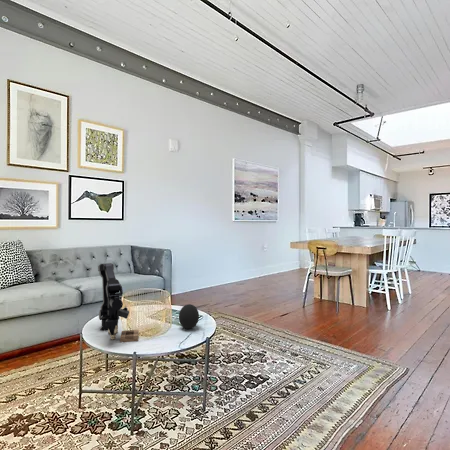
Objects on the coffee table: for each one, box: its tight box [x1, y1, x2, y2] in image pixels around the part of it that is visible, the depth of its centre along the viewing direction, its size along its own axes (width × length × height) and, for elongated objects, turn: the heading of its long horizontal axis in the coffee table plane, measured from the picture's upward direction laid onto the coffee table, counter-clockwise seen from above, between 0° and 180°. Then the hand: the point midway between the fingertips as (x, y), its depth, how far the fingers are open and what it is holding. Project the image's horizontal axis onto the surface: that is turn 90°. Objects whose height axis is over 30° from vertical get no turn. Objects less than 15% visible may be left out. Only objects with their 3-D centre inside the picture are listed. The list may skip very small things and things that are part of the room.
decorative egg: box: [178, 303, 200, 330], centre depth 200 cm, size 12×12×15 cm
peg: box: [107, 324, 119, 340], centre depth 181 cm, size 5×5×9 cm
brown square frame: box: [119, 329, 140, 343], centre depth 182 cm, size 9×9×3 cm
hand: (113, 333), depth 181 cm, fingers closed on peg, 5 cm apart
